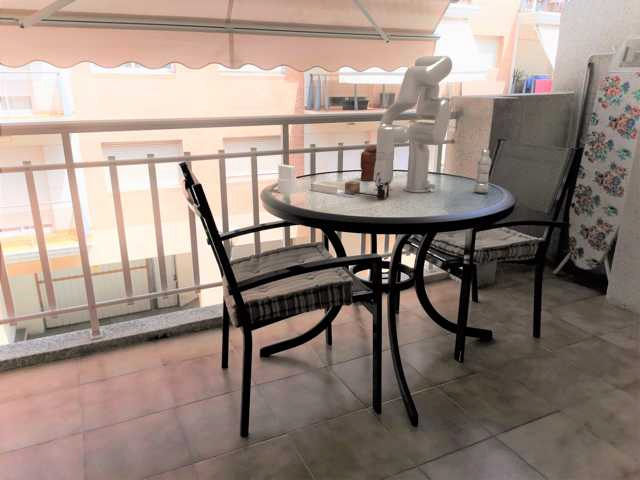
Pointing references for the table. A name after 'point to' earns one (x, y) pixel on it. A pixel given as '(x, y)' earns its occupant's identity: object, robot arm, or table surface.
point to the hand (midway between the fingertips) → (382, 197)
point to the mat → (348, 194)
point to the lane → (328, 187)
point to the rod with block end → (354, 189)
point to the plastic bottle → (482, 172)
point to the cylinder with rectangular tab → (287, 179)
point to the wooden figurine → (368, 163)
